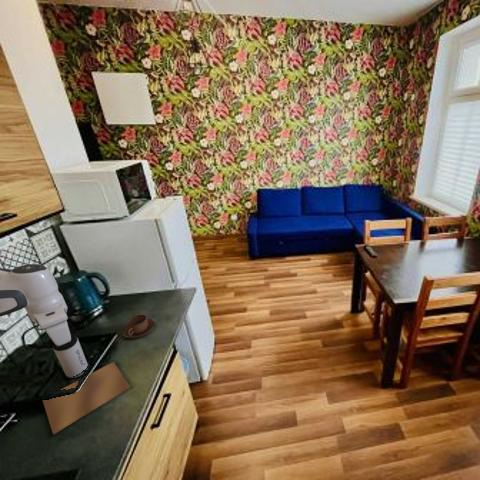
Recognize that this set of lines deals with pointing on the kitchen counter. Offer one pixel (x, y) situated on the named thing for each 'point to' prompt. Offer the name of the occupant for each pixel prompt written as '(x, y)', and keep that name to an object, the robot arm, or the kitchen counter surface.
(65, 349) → the travel mug
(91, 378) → the cork mat
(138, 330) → the cup and saucer
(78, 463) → the kitchen counter surface
